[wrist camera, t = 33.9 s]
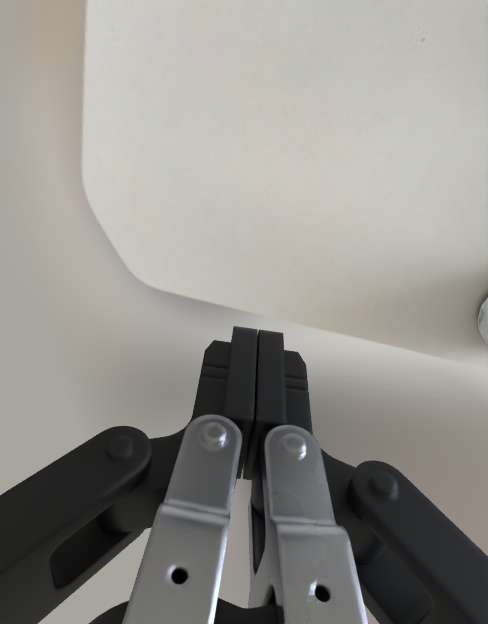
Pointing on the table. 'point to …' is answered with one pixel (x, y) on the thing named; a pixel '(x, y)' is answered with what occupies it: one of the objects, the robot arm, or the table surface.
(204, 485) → the robot arm
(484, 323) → the supplement can
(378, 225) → the table surface
